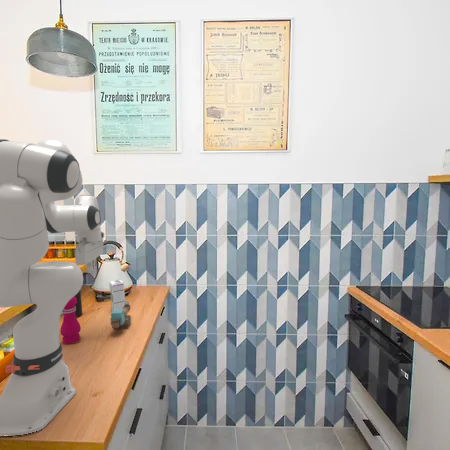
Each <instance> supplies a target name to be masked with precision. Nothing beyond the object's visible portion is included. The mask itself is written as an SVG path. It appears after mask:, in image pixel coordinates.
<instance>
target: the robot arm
mask: <svg viewBox="0 0 450 450" xmlns="http://www.w3.org/2000/svg"><path fill="white" fill-rule="evenodd" d="M82 187H83V175H82V172H81V169H80V164H79V162H78V160H77V159H76V157H75V156H74V154H73V153H72V152H71V151H70V149H69V148H68V146H67V145H65V143H64V142H61V141H60V140H57V139H53V138H52V139H51V138H50V139H43V140H41V141H38V142H37V143H36V144H35V143H31V142H24V141H15V140H8V139H4V138H3V139H1V138H0V308H4V309H6V308H12V307H18V306H25V305H26V306H27V305H32V304H33V305H36V307H37V308H36V309H35V310H34V311H32V312H30V313H29V314H26V315H25V316H23V317H22V318H21V319H20V320H18V321H17V323H16V324H15V325H14V327H13V330H12V337H13V348H14V353H13V359H12V362H11V364H7V365H6V367H5V369H4V370H5V371H4V373H6V374H10V373H11V374H10V376H9V378H8V380H7V382H6V385H5V387H4V389H3V391H2V393H1V395H0V436H1V435H2V436H4V435H8V436H11V435H22V434H27V435H29V434H28V433H31V434H33V433H32V432H34V433H36V431H37V432H39V431H42V430H43V429H45V427H46V426H47V425H48V424H49V423H50V422H51V421H52V420H53V419H54V418H55V417H56V416H57V415H58V413H60V411H61V410H63V408H64V407H65V406H66V405H67V404H68V403H69V402H70V401H71V399H73V398H74V397H75V395H77V391H76V388H75V387H74V386H72V383H71V378H70V377H71V376H70V371H69V366H68V365H67V364H66V363H65V361H64V359H63V351H64V350H63V346H62V342H60V322H61V321H60V320H61V315H62V314H63V313H62V311H63V309H64V307H65V305H66V304H67V303H68V302H69V300H70V299H71V298H72V297H74V296H75V295H76V294H77V293H78V292H79V291H80V289H82V286H83V284H84V275H83V272H82V270H81V268H80V267H79V266H86V267H87V268H86V269H87V272H93V271H94V270H95V266H96V259H97V258H99V257H100V256H101V255H103V254H104V238H105V233H104V232H103V231H102V230H101V226H100V224H101V210H100V209H99V202H98V198H97V197H96V196H94V195H92V194H90V195H89V194H87V195H86V194H81V195H80V194H79V195H77V196H76V194H78V193H79V192H80V190H81V188H82ZM74 196H76V197H75V199H74V200H75V201H74V204H70V205H68V204H67V205H65V204H63V205H59V204H55V203H54V202H57V201H58V202H59V201H63V200H64V201H65V200H68V199H70V198H73V197H74ZM70 232H76V242H77V244H76V245H75V251H74V252H75V253H74V254H75V255H74V257H75V262H70V261H47V262H40V261H41V260H43V258H44V257H45V256H46V254H47V253H48V251H49V248H50V241H49V233H50V234H59V233H61V234H62V233H70ZM41 429H42V430H41ZM22 436H23V435H22Z"/></svg>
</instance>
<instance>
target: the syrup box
mask: <svg viewBox="0 0 450 450" xmlns="http://www.w3.org/2000/svg"><path fill="white" fill-rule="evenodd" d="M108 283H109V295H110V296H109V297H110V308H111V312H112V311H113V310H118V309H122V308H123V307H124V302H125V301H126V295H125V294H126V293H125V282H124V281H122V280H121V279H116V280H112V281H109V282H108Z"/></svg>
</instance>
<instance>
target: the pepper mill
mask: <svg viewBox="0 0 450 450" xmlns="http://www.w3.org/2000/svg"><path fill="white" fill-rule="evenodd" d="M76 303H77V299H76V297H75V296H74V297H72V298H71V299H70V300H69V302H68V303H67V304H66V305H65V307H64V309H63V311H62V313H61V314H63V315H62V316H63V320H62V324H61V326H60V328H59V334H60V336H62V338H61V339H62V343H63V344H64V345H72V344H75V343H77V342H79V341H80V339H81V335H80V332H81V329H82V327H81V324H80V322H79V320H78V317H77V318H76V316H75V311H76V306H75V305H76Z"/></svg>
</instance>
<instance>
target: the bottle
mask: <svg viewBox="0 0 450 450" xmlns="http://www.w3.org/2000/svg"><path fill="white" fill-rule="evenodd" d="M81 289H82V288H81ZM81 289H80V291H79V292H78V293H77V294H76V295H75V297H76V299H77V303H76V305H75V306H76V311H75V316H76V318H77V319H78V318H80V317H82V315H83V304H82V291H81Z"/></svg>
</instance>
